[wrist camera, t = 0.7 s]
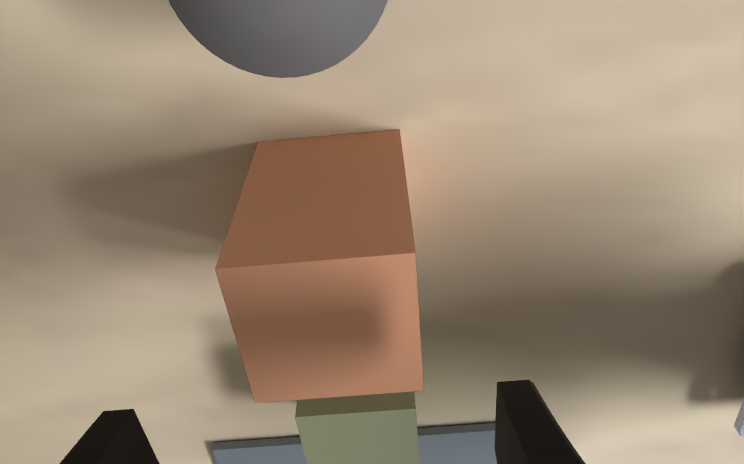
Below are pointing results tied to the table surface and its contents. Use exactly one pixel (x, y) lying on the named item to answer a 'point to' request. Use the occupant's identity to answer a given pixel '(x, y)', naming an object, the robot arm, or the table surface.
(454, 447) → the slate mat
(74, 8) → the table surface
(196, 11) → the dark grey cylinder
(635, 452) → the table surface
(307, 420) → the olive cube
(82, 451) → the robot arm
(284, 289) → the terracotta block
